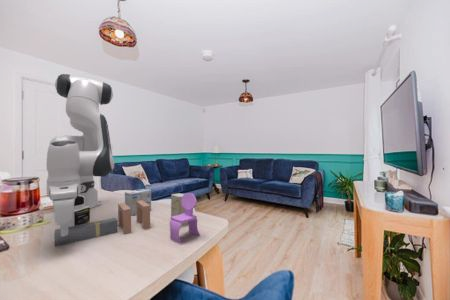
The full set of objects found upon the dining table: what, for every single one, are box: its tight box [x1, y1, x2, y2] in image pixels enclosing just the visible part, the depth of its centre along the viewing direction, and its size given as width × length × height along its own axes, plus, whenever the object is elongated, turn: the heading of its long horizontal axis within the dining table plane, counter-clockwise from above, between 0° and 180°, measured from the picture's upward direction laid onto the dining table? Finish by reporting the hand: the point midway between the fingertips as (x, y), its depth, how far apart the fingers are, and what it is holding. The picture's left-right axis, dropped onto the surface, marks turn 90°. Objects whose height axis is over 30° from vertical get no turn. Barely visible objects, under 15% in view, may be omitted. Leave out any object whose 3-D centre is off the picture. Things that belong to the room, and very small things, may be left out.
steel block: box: [54, 217, 119, 248], centre depth 71 cm, size 4×18×5 cm, turn 128°
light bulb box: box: [124, 188, 152, 217], centre depth 99 cm, size 11×7×11 cm, turn 144°
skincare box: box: [170, 192, 188, 227], centre depth 82 cm, size 6×4×12 cm
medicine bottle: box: [69, 195, 91, 227], centre depth 82 cm, size 7×7×12 cm
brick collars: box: [117, 200, 151, 235], centre depth 80 cm, size 11×9×9 cm
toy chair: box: [169, 192, 201, 245], centre depth 70 cm, size 8×9×15 cm
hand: (64, 230), depth 66 cm, fingers open, 8 cm apart
